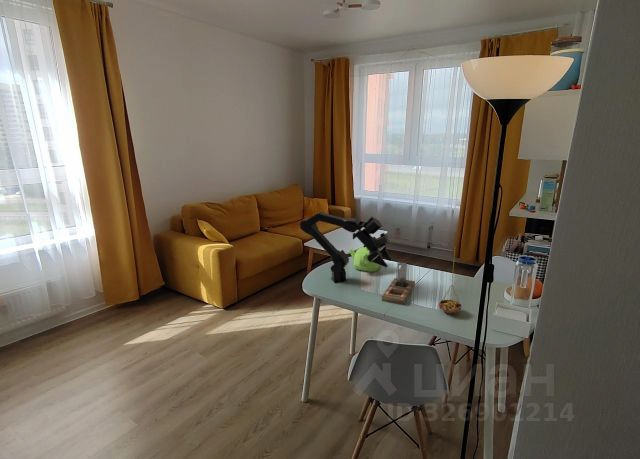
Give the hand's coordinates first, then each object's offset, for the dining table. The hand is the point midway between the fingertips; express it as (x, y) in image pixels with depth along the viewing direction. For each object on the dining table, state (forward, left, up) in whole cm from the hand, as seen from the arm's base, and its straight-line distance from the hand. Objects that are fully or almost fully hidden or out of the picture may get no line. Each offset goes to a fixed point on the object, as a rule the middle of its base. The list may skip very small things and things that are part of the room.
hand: (388, 263), depth 167 cm
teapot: (0, +28, -13) cm, 31 cm away
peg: (+5, -4, -12) cm, 14 cm away
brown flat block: (+2, -8, -12) cm, 15 cm away
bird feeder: (+12, -31, -13) cm, 36 cm away
